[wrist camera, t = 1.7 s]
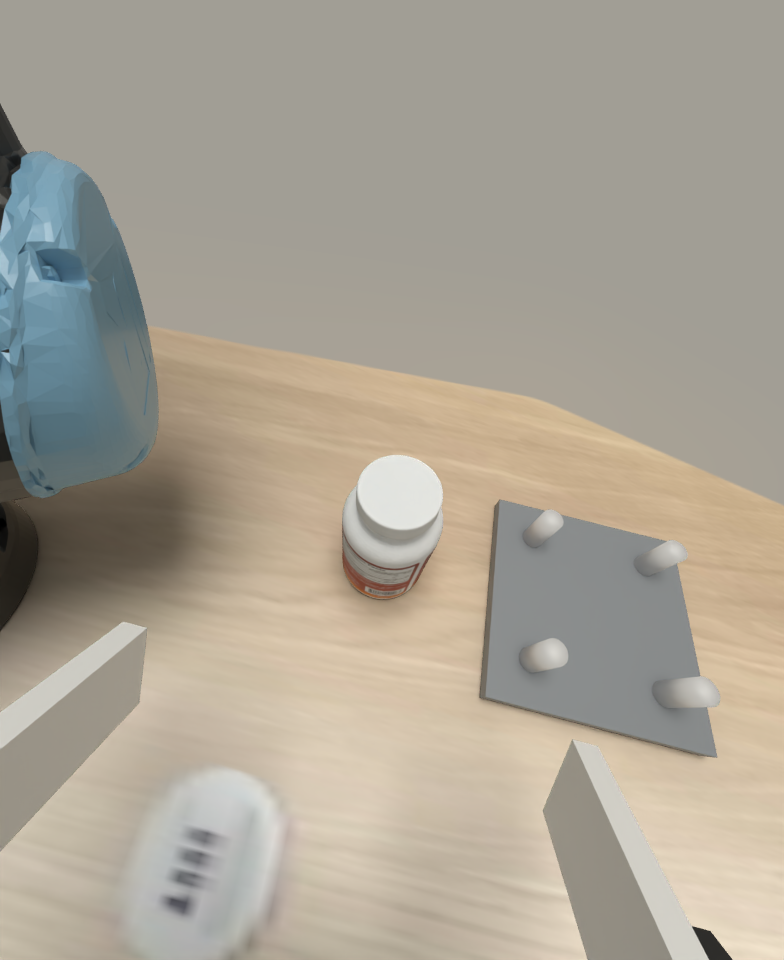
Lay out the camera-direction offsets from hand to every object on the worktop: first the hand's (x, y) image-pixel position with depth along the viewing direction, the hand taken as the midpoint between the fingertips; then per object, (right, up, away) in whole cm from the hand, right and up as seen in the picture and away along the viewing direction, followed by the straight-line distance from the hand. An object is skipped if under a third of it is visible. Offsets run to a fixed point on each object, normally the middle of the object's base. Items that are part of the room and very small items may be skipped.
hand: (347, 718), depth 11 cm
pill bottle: (+1, +1, +18) cm, 18 cm away
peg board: (+16, -3, +18) cm, 24 cm away
